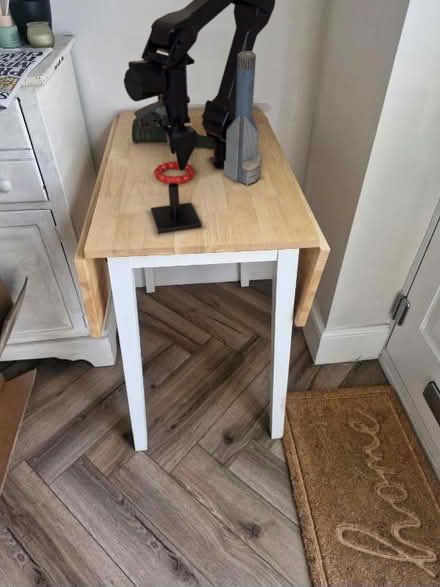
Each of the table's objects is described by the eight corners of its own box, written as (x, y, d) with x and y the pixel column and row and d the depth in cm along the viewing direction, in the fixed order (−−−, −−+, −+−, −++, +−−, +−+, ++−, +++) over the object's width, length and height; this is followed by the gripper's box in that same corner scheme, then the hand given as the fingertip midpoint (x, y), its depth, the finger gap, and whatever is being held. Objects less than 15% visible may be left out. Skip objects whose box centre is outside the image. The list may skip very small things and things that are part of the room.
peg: (151, 211, 93) (147, 177, 88) (191, 206, 95) (190, 172, 90) (158, 234, 87) (154, 198, 81) (201, 227, 88) (200, 192, 83)
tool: (130, 147, 119) (126, 122, 114) (137, 137, 123) (134, 114, 119) (227, 155, 116) (228, 131, 111) (231, 146, 120) (232, 122, 116)
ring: (151, 169, 108) (151, 162, 107) (190, 165, 111) (189, 158, 109) (158, 187, 101) (157, 180, 100) (199, 182, 103) (199, 175, 102)
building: (258, 187, 102) (269, 45, 82) (220, 184, 103) (223, 42, 83) (262, 168, 110) (273, 34, 90) (227, 165, 111) (230, 32, 91)
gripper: (129, 80, 94) (137, 149, 104) (141, 108, 81) (149, 184, 91) (178, 77, 96) (182, 144, 107) (198, 103, 83) (200, 177, 93)
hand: (177, 161), depth 99 cm, fingers open, 9 cm apart
